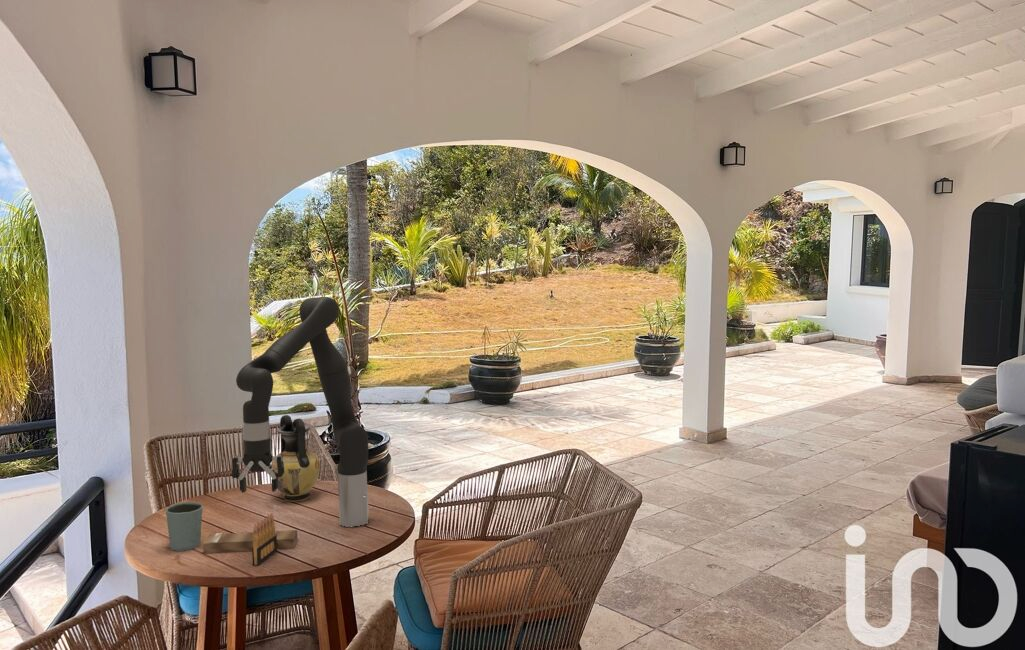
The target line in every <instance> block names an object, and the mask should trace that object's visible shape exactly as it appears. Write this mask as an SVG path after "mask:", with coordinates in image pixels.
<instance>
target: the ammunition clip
mask: <svg viewBox="0 0 1025 650" xmlns="http://www.w3.org/2000/svg"><path fill="white" fill-rule="evenodd" d="M275 530H276V525H275V518H274V515H273V512H270V515H268V514H267V517H263V519H261V520H260V521H257V524H256V523H254V525H253V531H252V532H253V533H254V534H253V548H252V551H251V552H252V554H251V556H252V558H251V559H252V566H255V567H256V566H260V565H262V564H263V563H265V560H266V561H267V560H269V559H270V558H271V557H272V556H273V555H274V553H275V554H277V552H278V549H277V535H275ZM270 556H271V557H270Z"/></svg>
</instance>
